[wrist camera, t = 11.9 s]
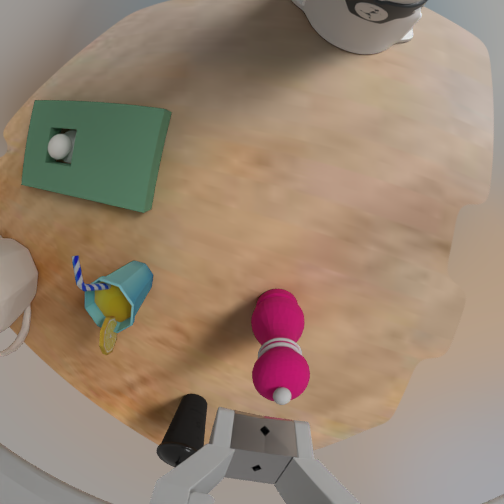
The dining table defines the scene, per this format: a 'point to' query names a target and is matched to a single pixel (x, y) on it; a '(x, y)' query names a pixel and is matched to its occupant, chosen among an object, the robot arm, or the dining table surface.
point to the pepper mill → (279, 347)
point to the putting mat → (97, 151)
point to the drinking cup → (184, 431)
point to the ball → (59, 146)
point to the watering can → (16, 288)
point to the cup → (114, 299)
